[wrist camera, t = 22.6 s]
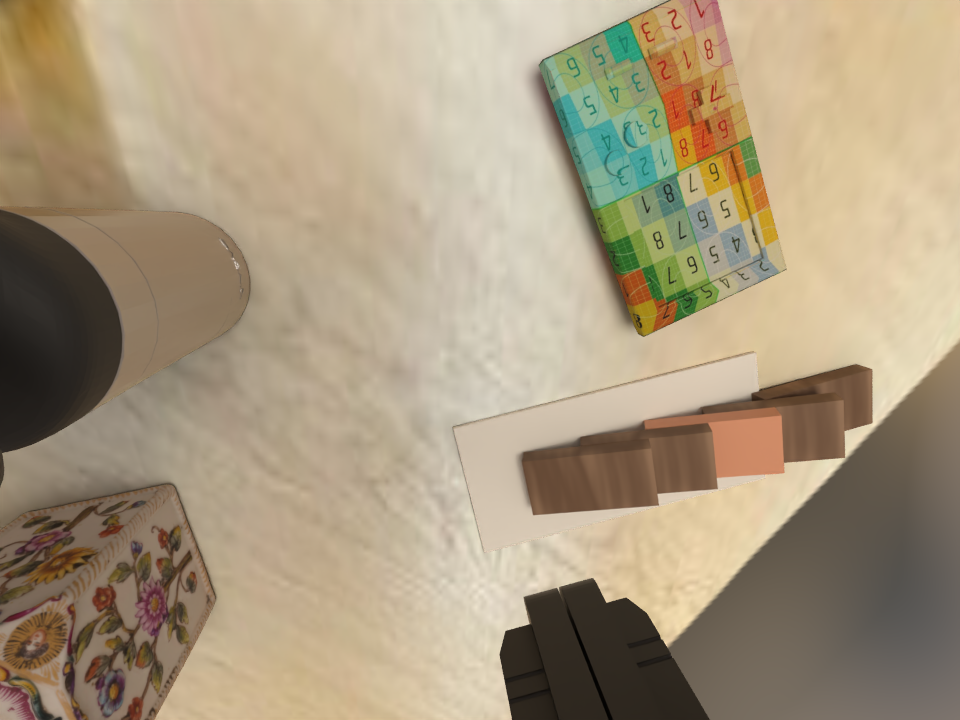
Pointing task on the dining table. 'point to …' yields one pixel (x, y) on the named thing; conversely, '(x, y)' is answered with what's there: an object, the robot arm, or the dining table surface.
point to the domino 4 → (803, 424)
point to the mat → (504, 438)
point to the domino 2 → (674, 455)
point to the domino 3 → (739, 440)
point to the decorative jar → (98, 607)
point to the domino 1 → (591, 477)
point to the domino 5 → (844, 382)
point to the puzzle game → (667, 160)
